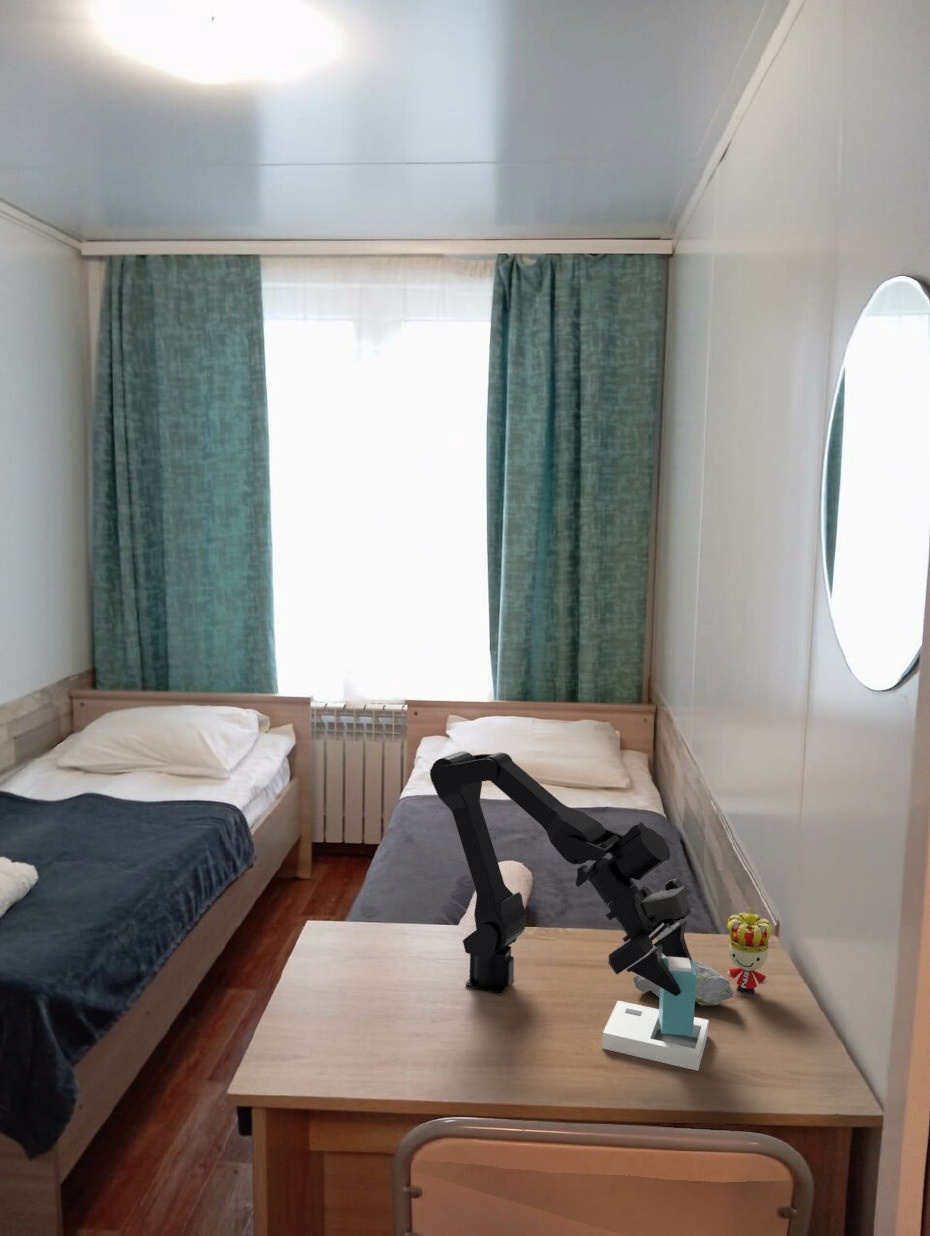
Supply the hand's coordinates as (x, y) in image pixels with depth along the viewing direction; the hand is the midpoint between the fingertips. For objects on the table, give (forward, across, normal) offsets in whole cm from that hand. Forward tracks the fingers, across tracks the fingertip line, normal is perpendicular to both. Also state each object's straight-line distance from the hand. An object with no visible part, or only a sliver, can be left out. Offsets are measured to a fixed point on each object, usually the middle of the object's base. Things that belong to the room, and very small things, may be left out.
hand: (686, 985), depth 140 cm
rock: (+3, +15, +12) cm, 19 cm away
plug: (+4, 0, +6) cm, 7 cm away
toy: (+9, +23, +6) cm, 26 cm away
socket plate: (+4, 0, +10) cm, 11 cm away
